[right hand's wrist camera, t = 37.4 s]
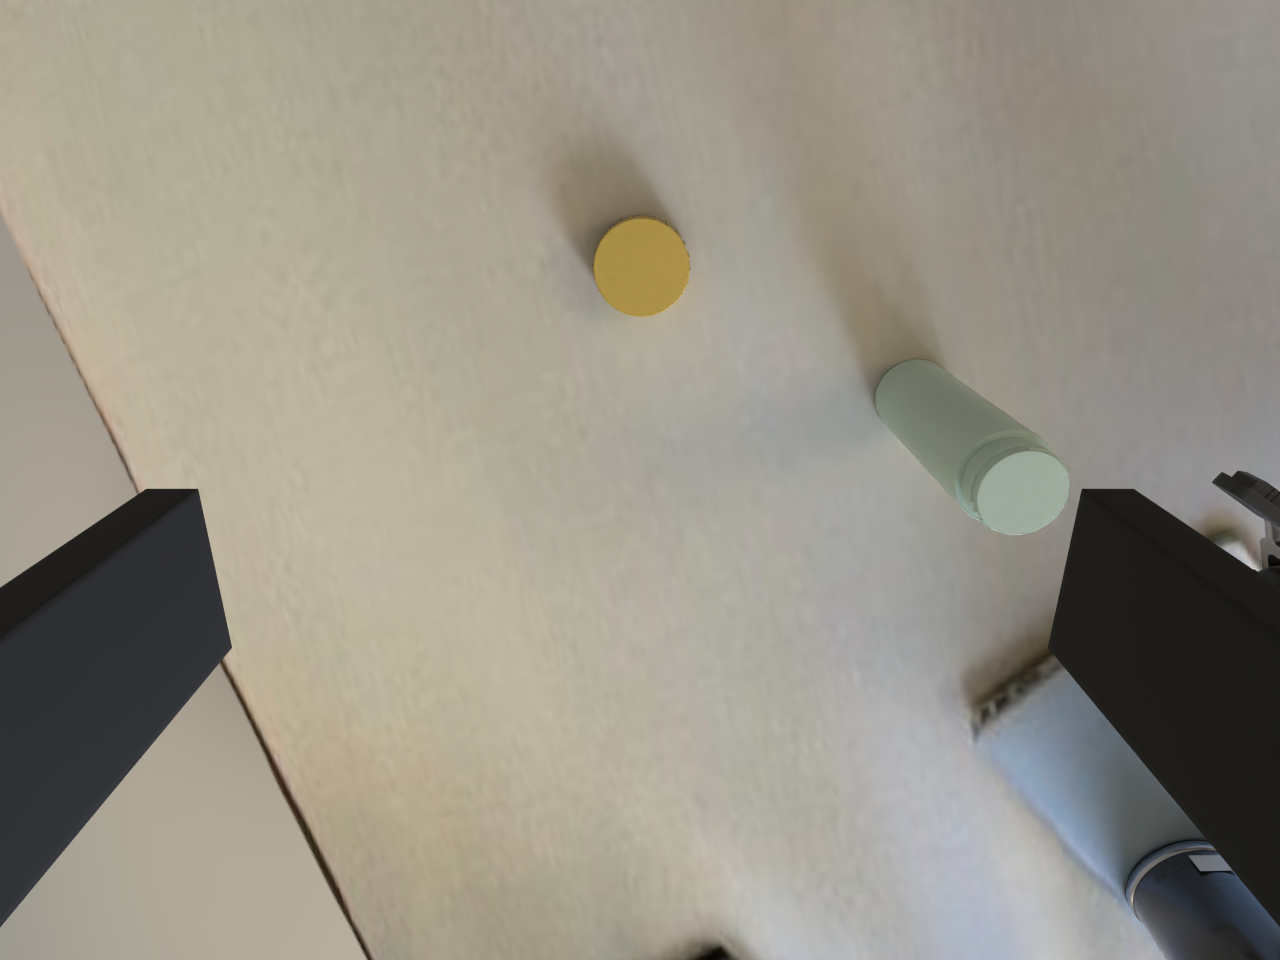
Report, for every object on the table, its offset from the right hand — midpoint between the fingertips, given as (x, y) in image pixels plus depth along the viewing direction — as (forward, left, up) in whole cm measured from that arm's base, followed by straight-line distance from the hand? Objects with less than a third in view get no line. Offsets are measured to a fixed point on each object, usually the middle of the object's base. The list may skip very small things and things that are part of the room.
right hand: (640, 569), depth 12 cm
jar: (+10, +17, -41) cm, 45 cm away
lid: (0, 0, -39) cm, 39 cm away
